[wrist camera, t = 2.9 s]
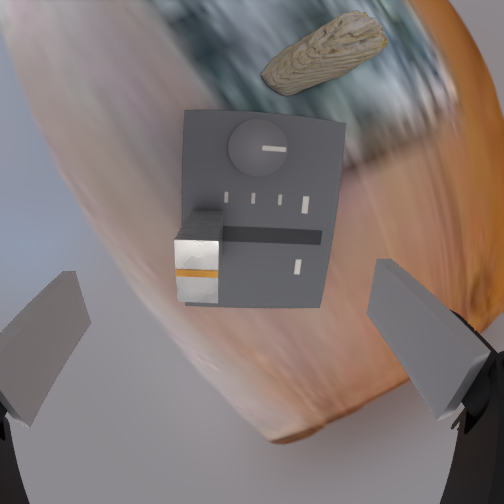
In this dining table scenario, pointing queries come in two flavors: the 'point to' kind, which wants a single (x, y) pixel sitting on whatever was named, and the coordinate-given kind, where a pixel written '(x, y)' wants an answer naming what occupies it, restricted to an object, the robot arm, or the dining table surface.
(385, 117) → the dining table surface
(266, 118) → the console
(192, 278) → the fader
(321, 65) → the fossil tooth
